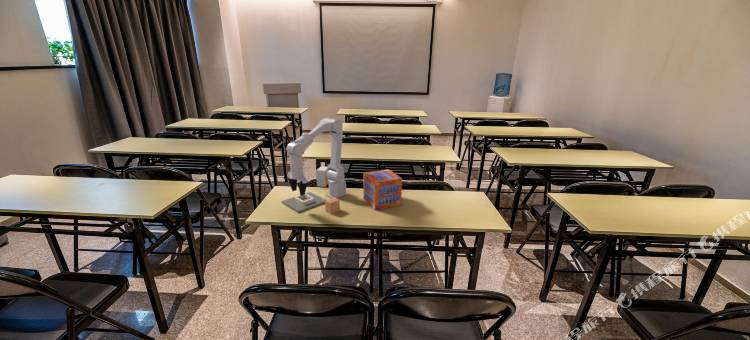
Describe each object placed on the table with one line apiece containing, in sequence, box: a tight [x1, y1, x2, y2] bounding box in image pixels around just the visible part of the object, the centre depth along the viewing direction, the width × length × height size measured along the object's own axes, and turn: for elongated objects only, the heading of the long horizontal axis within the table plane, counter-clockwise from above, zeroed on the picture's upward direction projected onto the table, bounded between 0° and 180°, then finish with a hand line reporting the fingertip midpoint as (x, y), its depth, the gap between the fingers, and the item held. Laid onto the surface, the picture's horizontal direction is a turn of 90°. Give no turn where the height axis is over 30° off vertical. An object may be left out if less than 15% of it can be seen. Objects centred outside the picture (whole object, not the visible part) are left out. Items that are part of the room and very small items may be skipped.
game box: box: [362, 169, 403, 211], centre depth 165 cm, size 16×16×16 cm
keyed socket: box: [281, 191, 327, 214], centre depth 164 cm, size 18×16×3 cm
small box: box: [316, 165, 329, 188], centre depth 188 cm, size 8×6×10 cm
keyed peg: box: [324, 197, 341, 215], centre depth 155 cm, size 6×4×6 cm, turn 135°
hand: (298, 192), depth 152 cm, fingers open, 7 cm apart
